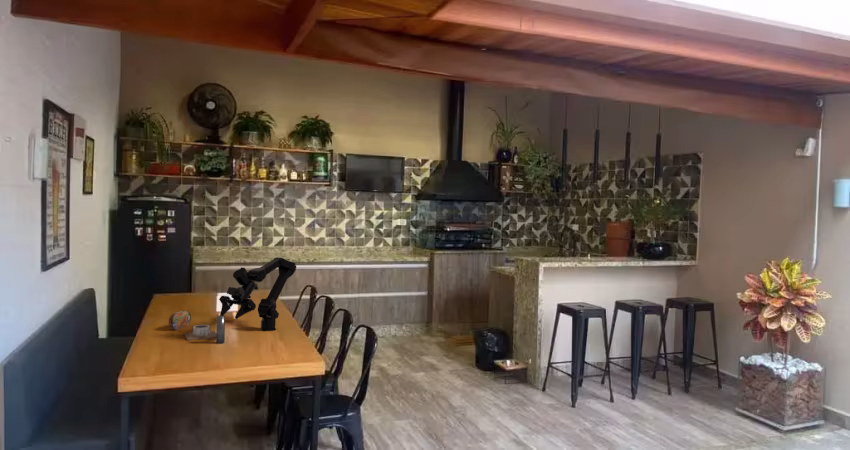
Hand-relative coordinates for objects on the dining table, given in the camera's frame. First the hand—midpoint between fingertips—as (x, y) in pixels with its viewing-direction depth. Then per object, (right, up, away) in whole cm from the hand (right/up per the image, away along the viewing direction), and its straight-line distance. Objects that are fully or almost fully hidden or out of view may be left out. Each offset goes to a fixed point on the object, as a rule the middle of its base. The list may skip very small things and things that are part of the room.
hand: (228, 317), depth 260 cm
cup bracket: (-15, -10, +7) cm, 20 cm away
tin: (-33, -10, +23) cm, 42 cm away
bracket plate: (-15, -10, +7) cm, 20 cm away
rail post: (-2, -11, -4) cm, 12 cm away
